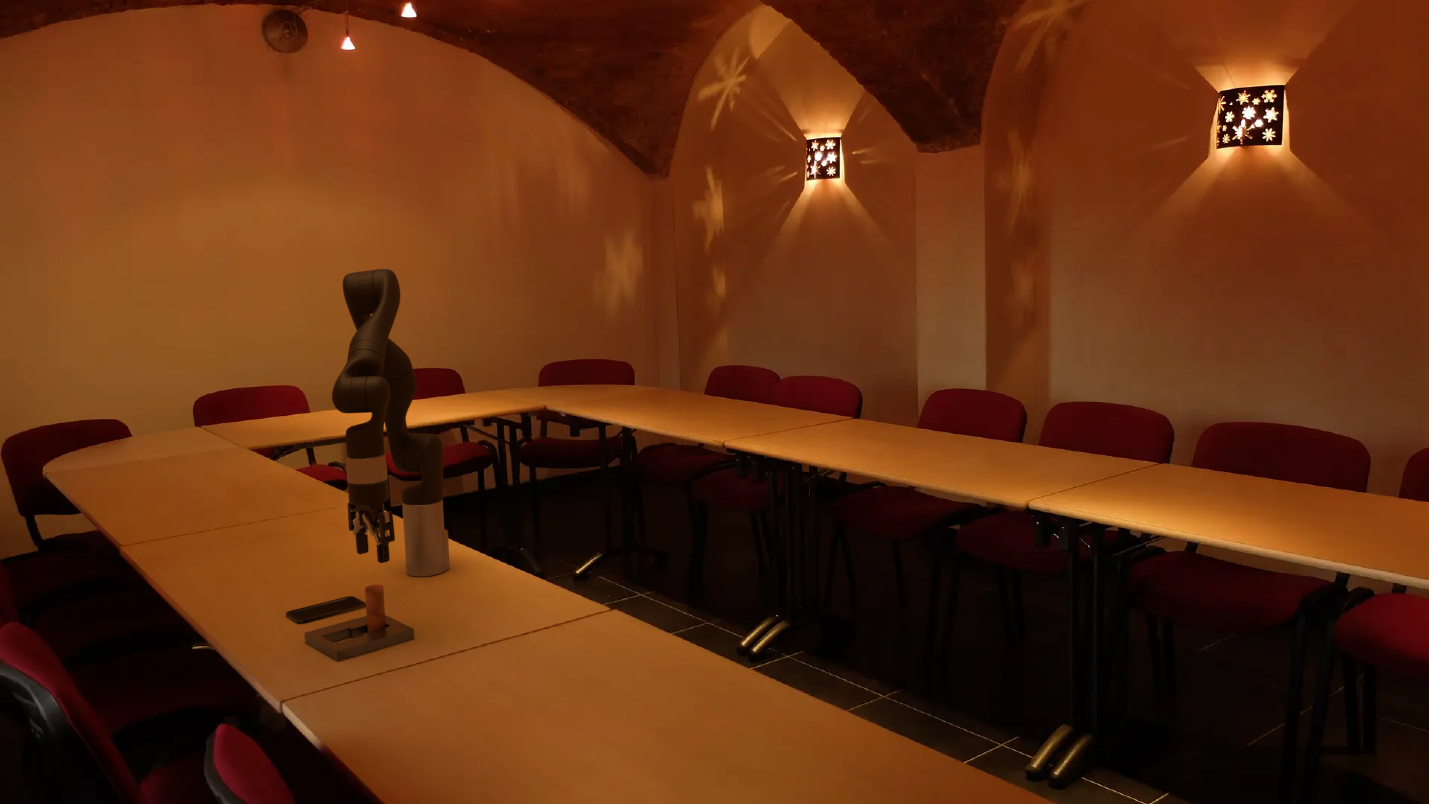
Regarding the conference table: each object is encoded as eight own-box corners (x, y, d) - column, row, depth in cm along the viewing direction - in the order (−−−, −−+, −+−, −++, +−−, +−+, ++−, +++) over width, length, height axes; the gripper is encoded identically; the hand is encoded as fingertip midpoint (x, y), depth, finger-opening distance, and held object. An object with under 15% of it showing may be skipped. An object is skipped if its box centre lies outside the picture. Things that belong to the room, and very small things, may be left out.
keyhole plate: (380, 621, 222) (379, 612, 222) (414, 638, 212) (413, 628, 212) (305, 642, 211) (304, 632, 210) (337, 661, 201) (336, 651, 201)
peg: (381, 631, 216) (378, 583, 215) (389, 635, 214) (386, 587, 212) (364, 635, 214) (361, 587, 212) (373, 640, 212) (370, 591, 210)
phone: (283, 612, 226) (351, 595, 236) (284, 617, 226) (352, 600, 236) (299, 621, 220) (367, 603, 230) (299, 627, 220) (368, 608, 230)
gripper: (403, 480, 206) (408, 560, 209) (367, 469, 216) (373, 546, 219) (367, 487, 201) (372, 569, 204) (332, 475, 211) (338, 554, 214)
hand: (373, 557), depth 211 cm, fingers open, 8 cm apart
